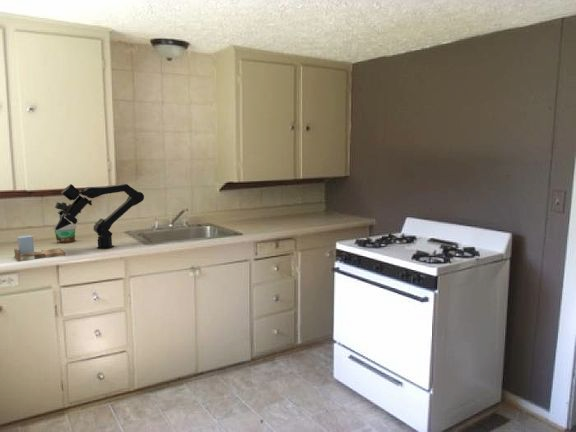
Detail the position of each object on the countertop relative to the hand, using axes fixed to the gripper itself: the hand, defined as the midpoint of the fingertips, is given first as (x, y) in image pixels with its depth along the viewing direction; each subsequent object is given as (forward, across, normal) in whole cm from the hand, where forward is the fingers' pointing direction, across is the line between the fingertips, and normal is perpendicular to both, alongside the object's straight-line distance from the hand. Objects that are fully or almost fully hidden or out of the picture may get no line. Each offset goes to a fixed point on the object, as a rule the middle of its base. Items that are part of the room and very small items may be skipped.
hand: (55, 229), depth 240 cm
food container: (+2, -28, +16) cm, 32 cm away
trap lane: (+15, 0, +3) cm, 15 cm away
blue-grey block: (+18, 0, -2) cm, 18 cm away
